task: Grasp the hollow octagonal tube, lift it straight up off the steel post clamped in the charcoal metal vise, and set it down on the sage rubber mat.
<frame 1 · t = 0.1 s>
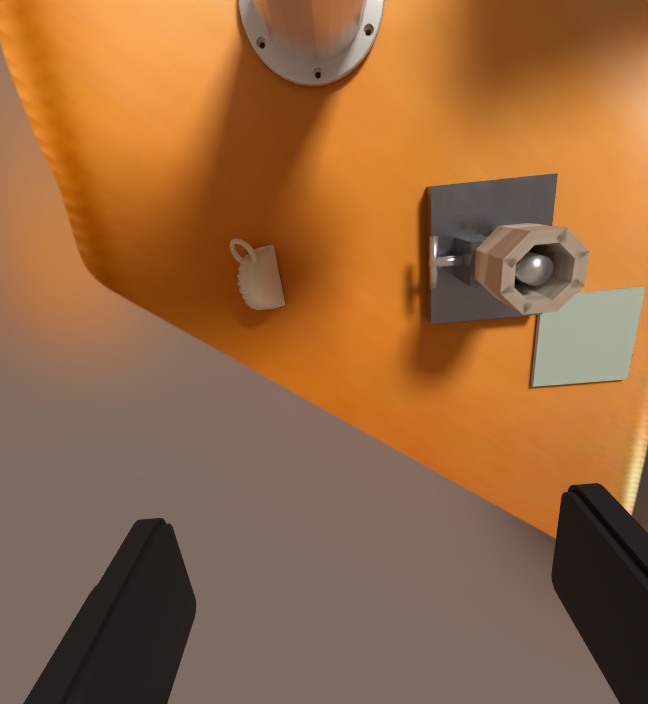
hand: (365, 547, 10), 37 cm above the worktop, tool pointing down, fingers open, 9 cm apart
mat: (583, 338, 46), on the worktop
hollow octagonal tube: (510, 261, 36), point 7 cm above the worktop, touching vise
decorative ornament: (262, 272, 44), on the worktop
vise: (482, 251, 43), on the worktop
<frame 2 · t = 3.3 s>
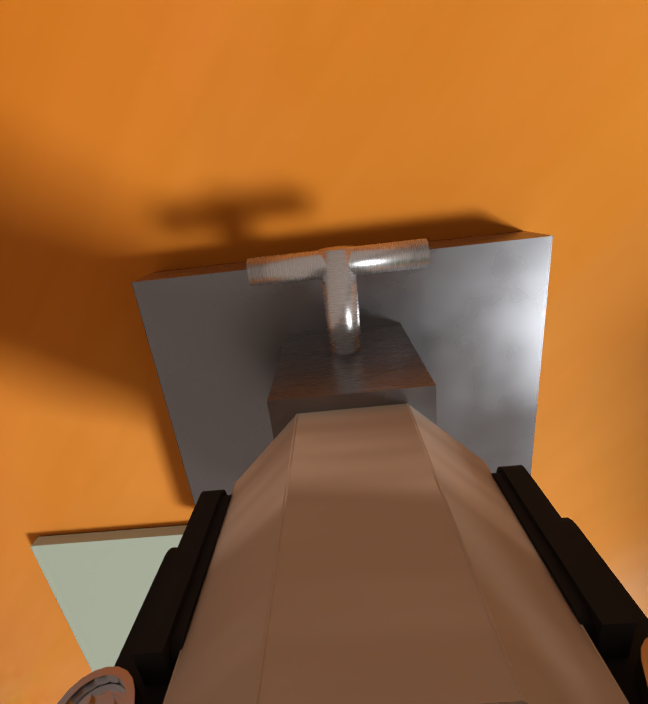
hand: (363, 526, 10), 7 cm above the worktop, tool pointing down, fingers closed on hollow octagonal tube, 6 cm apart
mat: (170, 604, 22), on the worktop
hollow octagonal tube: (362, 513, 11), point 7 cm above the worktop, touching gripper, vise
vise: (349, 393, 17), on the worktop
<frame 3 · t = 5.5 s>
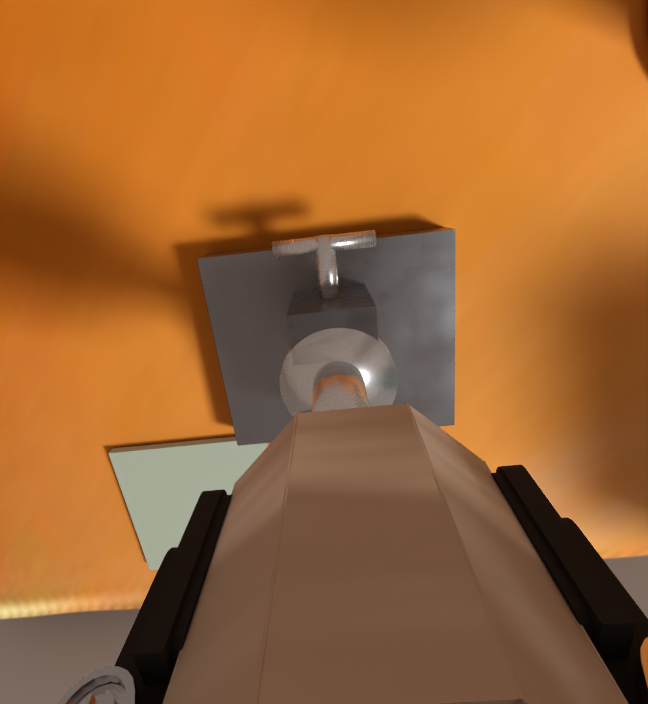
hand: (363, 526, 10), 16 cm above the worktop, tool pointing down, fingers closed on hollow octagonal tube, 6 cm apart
mat: (205, 503, 30), on the worktop
hollow octagonal tube: (361, 512, 11), point 16 cm above the worktop, touching gripper
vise: (334, 337, 25), on the worktop
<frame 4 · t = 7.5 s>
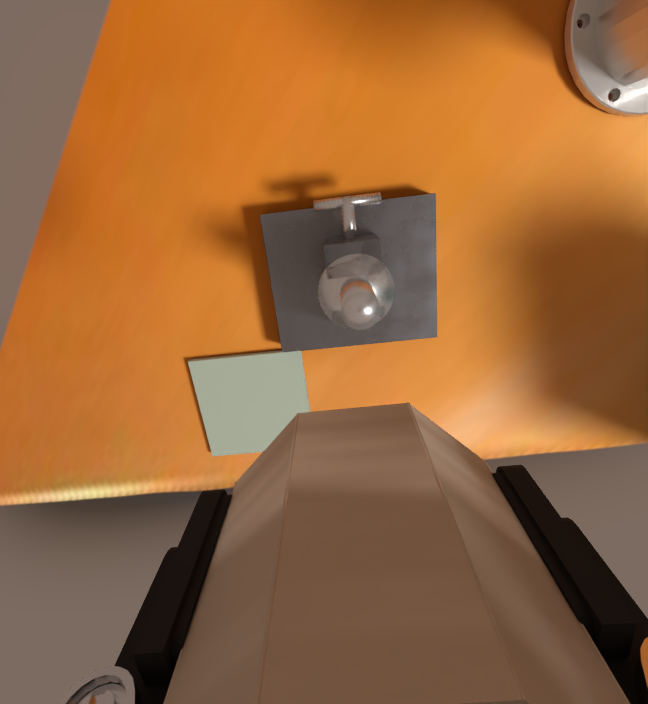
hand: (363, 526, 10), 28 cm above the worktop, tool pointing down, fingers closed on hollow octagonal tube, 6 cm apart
mat: (254, 403, 41), on the worktop
hollow octagonal tube: (362, 512, 11), point 27 cm above the worktop, touching gripper
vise: (351, 274, 36), on the worktop
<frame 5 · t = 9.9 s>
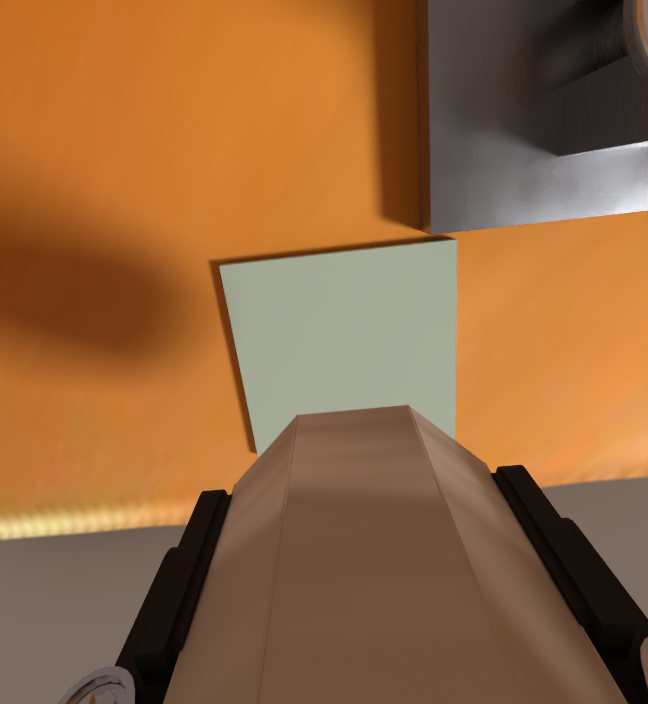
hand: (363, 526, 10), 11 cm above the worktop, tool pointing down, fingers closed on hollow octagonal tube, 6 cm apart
mat: (346, 358, 21), on the worktop
hollow octagonal tube: (362, 514, 11), point 11 cm above the worktop, touching gripper
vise: (592, 56, 16), on the worktop
when the fingers open (3 cm above the worktop, at t = 11.9 s): hollow octagonal tube drops 2 cm, resting on mat.
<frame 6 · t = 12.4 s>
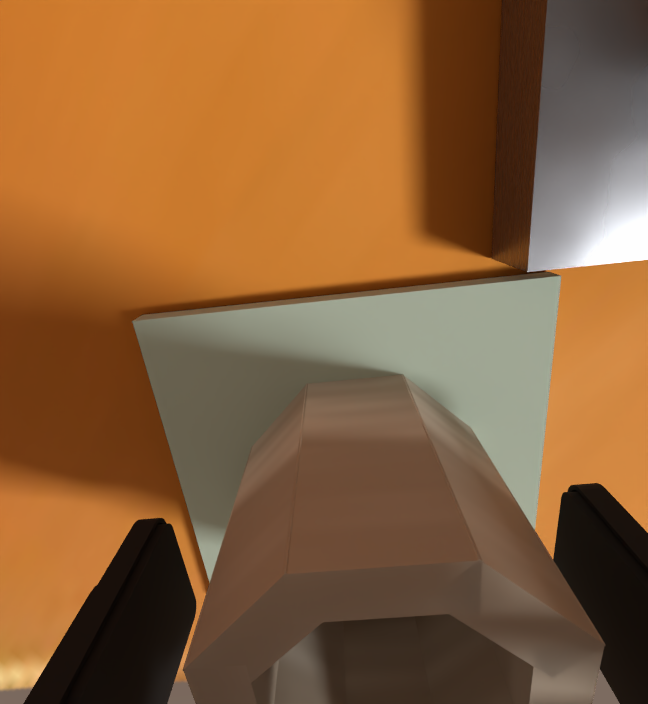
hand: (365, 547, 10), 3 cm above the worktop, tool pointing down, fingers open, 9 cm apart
mat: (356, 462, 13), on the worktop
hollow octagonal tube: (363, 473, 12), point 1 cm above the worktop, touching mat
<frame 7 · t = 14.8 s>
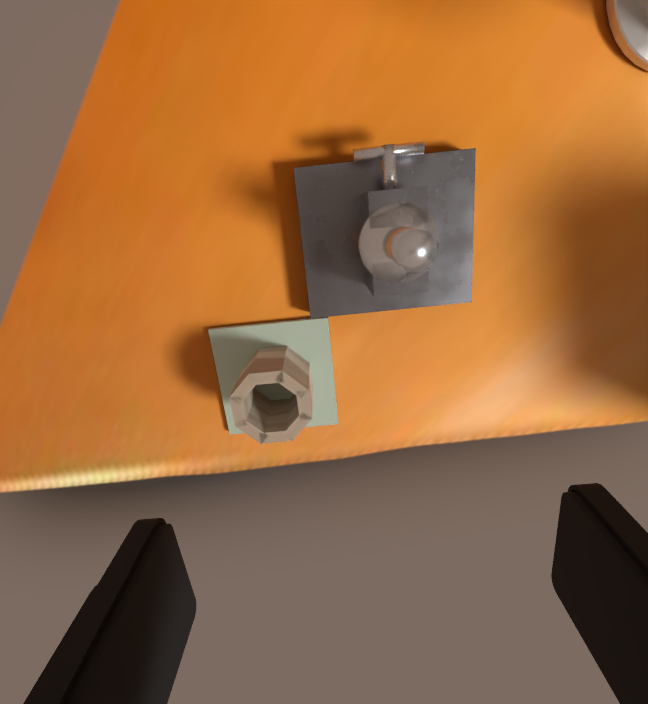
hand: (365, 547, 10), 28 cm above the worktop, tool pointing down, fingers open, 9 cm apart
mat: (276, 376, 39), on the worktop
hollow octagonal tube: (277, 378, 38), point 1 cm above the worktop, touching mat
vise: (383, 237, 34), on the worktop
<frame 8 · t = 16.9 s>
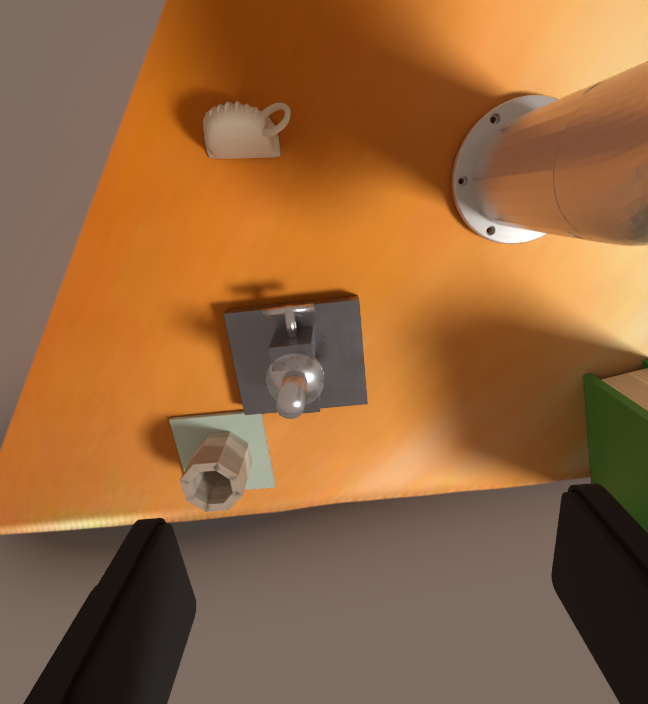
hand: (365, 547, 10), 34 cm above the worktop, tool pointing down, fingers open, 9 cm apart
mat: (224, 452, 50), on the worktop
hollow octagonal tube: (224, 454, 49), point 1 cm above the worktop, touching mat
decorative ornament: (249, 136, 37), on the worktop
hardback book: (618, 430, 48), on the worktop
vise: (299, 354, 45), on the worktop
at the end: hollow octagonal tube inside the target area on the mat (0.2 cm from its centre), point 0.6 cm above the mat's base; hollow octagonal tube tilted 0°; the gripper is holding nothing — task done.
